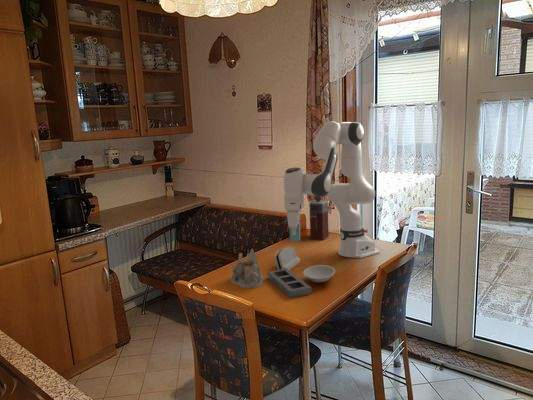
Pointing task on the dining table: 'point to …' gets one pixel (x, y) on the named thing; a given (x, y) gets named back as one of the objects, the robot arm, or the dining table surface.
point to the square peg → (297, 236)
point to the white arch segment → (286, 258)
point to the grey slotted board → (289, 283)
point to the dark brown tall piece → (319, 219)
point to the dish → (319, 273)
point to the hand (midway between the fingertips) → (294, 233)
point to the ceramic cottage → (247, 272)
